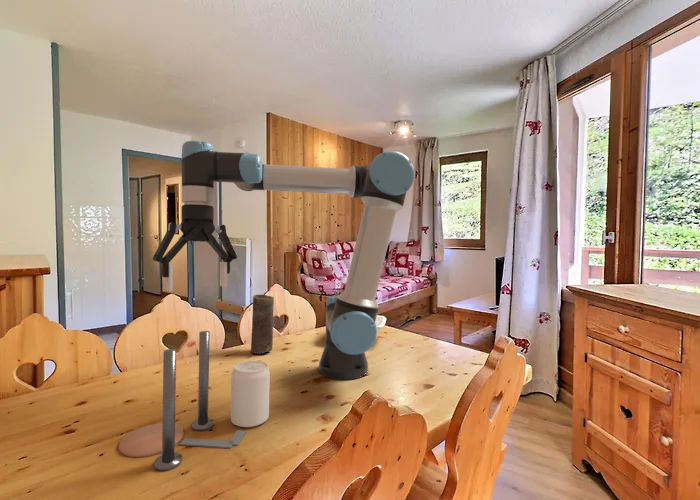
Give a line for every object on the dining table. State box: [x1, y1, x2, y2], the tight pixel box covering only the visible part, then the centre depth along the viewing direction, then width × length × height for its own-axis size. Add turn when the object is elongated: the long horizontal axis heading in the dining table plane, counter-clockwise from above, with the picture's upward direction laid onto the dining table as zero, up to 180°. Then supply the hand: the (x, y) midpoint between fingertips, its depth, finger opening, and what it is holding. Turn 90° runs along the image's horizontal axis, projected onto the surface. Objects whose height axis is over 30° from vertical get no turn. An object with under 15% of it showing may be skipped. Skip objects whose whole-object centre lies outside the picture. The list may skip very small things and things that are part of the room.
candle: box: [250, 294, 275, 355], centre depth 127 cm, size 8×7×20 cm
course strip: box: [178, 429, 247, 449], centre depth 72 cm, size 11×6×1 cm, turn 86°
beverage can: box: [230, 360, 271, 428], centre depth 79 cm, size 8×8×12 cm
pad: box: [118, 422, 184, 458], centre depth 71 cm, size 11×11×1 cm
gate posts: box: [153, 330, 215, 472], centre depth 70 cm, size 4×17×20 cm, turn 176°
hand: (197, 288), depth 92 cm, fingers open, 13 cm apart
